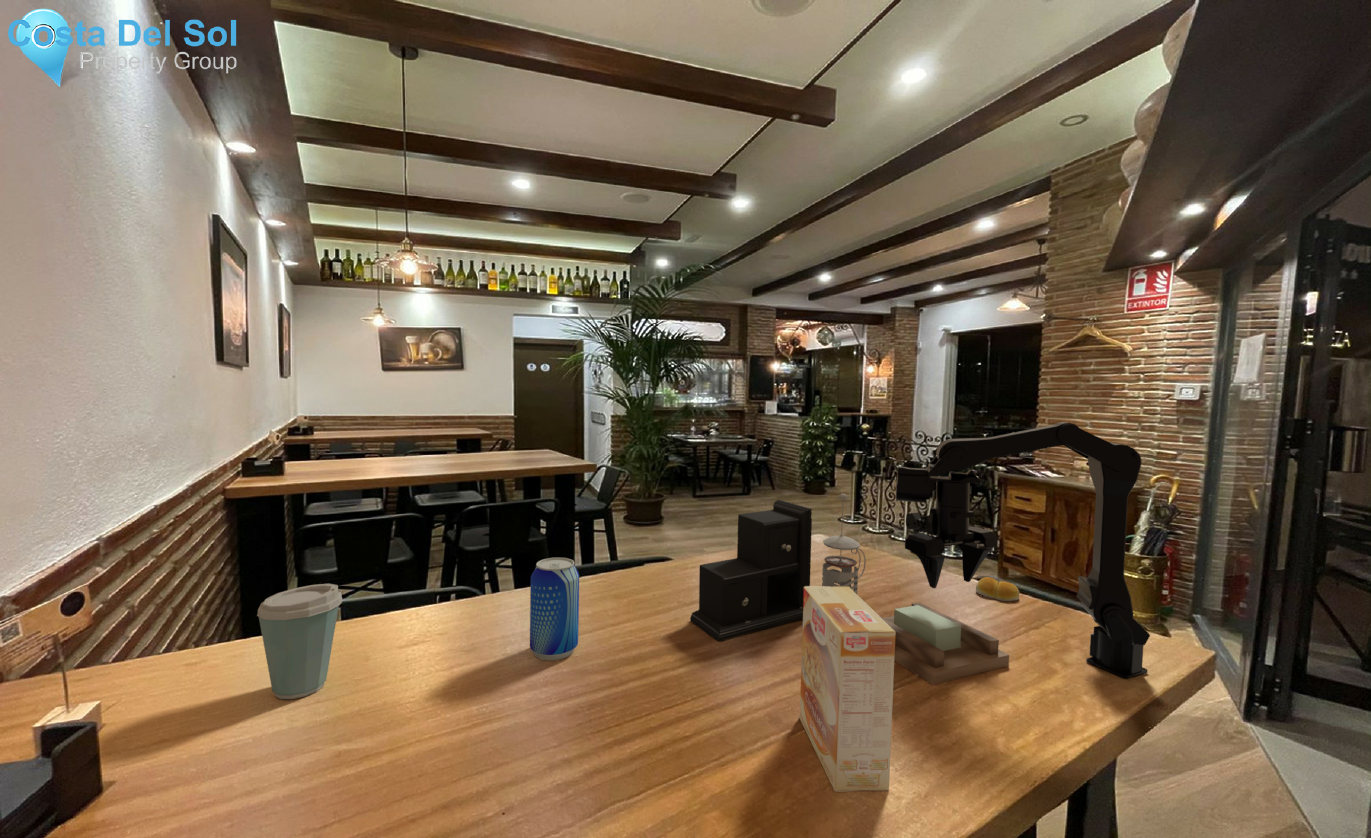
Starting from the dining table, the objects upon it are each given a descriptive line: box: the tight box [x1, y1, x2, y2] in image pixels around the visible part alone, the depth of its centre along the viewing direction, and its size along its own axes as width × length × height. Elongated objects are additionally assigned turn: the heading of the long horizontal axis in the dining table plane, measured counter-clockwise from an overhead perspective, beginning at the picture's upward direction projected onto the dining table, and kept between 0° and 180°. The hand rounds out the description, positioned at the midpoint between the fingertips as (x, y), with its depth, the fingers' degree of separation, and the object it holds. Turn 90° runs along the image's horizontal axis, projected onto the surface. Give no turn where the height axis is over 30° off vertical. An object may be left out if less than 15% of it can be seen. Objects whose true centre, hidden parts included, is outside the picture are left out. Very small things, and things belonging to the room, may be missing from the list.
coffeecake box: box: [798, 585, 896, 793], centre depth 70 cm, size 15×7×20 cm, turn 4°
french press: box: [821, 493, 867, 595], centre depth 122 cm, size 10×12×25 cm
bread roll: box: [975, 576, 1020, 602], centre depth 129 cm, size 8×9×4 cm
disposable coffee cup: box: [256, 583, 343, 700], centre depth 82 cm, size 11×11×15 cm
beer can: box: [529, 557, 580, 662], centre depth 95 cm, size 8×8×16 cm
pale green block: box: [893, 605, 961, 651], centre depth 100 cm, size 10×6×4 cm, turn 22°
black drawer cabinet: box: [689, 499, 813, 642], centre depth 111 cm, size 23×11×24 cm, turn 120°
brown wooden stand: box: [880, 602, 1010, 685], centre depth 100 cm, size 20×18×4 cm
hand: (950, 584), depth 104 cm, fingers open, 9 cm apart
